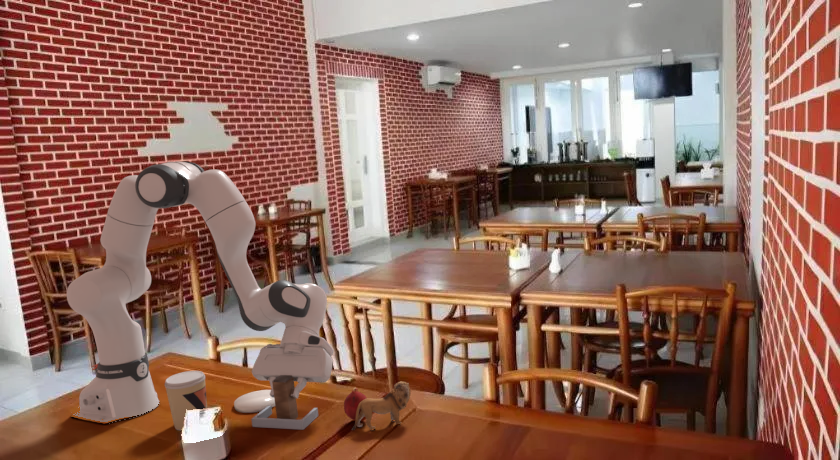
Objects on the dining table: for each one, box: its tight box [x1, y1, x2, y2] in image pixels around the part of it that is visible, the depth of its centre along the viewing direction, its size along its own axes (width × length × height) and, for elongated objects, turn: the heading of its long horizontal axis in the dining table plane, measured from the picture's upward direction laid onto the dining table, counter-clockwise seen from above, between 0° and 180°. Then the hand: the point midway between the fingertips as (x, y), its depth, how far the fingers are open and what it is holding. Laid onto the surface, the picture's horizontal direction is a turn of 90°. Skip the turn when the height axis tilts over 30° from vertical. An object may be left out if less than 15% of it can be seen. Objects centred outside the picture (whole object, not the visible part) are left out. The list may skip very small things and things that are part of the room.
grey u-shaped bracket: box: [250, 406, 319, 431], centre depth 151 cm, size 14×8×2 cm, turn 72°
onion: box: [343, 387, 368, 421], centre depth 147 cm, size 6×6×8 cm
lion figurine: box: [351, 380, 412, 431], centre depth 144 cm, size 15×5×9 cm, turn 111°
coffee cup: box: [164, 370, 208, 431], centre depth 155 cm, size 9×9×12 cm
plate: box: [233, 389, 276, 414], centre depth 165 cm, size 12×12×1 cm
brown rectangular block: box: [272, 375, 299, 420], centre depth 152 cm, size 4×4×10 cm
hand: (283, 397), depth 151 cm, fingers open, 4 cm apart
